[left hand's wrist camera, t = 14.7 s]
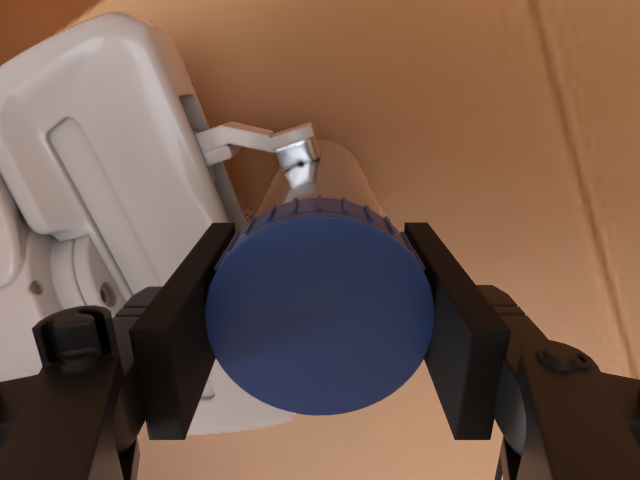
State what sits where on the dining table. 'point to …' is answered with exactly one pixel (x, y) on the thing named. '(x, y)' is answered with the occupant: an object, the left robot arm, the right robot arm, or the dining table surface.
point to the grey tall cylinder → (322, 180)
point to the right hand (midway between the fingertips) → (337, 208)
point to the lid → (319, 307)
